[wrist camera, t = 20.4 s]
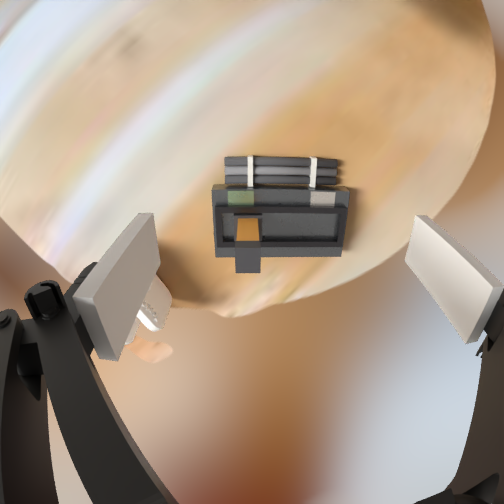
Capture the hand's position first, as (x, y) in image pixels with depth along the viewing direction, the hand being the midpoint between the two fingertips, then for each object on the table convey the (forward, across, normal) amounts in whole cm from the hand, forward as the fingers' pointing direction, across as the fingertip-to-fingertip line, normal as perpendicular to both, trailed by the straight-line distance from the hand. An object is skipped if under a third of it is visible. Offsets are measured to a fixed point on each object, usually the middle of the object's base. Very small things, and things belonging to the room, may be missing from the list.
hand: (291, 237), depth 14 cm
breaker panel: (+35, +3, -13) cm, 37 cm away
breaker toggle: (+31, -2, -13) cm, 34 cm away
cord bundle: (+35, +3, -4) cm, 35 cm away
